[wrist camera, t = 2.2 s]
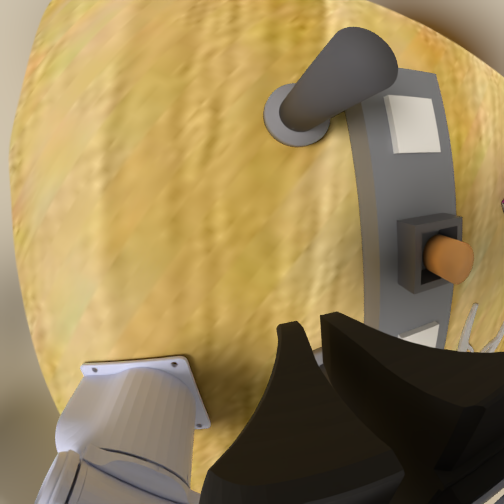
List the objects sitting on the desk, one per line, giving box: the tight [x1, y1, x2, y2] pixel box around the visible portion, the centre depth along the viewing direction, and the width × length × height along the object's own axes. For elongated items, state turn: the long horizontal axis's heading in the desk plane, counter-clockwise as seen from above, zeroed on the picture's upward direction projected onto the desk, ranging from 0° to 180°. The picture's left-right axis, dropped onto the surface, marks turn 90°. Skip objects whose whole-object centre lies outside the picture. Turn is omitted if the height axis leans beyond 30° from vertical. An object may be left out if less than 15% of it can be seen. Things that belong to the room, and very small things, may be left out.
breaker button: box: [423, 234, 474, 284], centre depth 14 cm, size 2×2×2 cm
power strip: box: [345, 68, 462, 349], centre depth 17 cm, size 7×24×4 cm, turn 9°
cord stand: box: [263, 27, 398, 147], centre depth 12 cm, size 4×4×10 cm
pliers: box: [457, 303, 504, 353], centre depth 23 cm, size 10×2×15 cm
